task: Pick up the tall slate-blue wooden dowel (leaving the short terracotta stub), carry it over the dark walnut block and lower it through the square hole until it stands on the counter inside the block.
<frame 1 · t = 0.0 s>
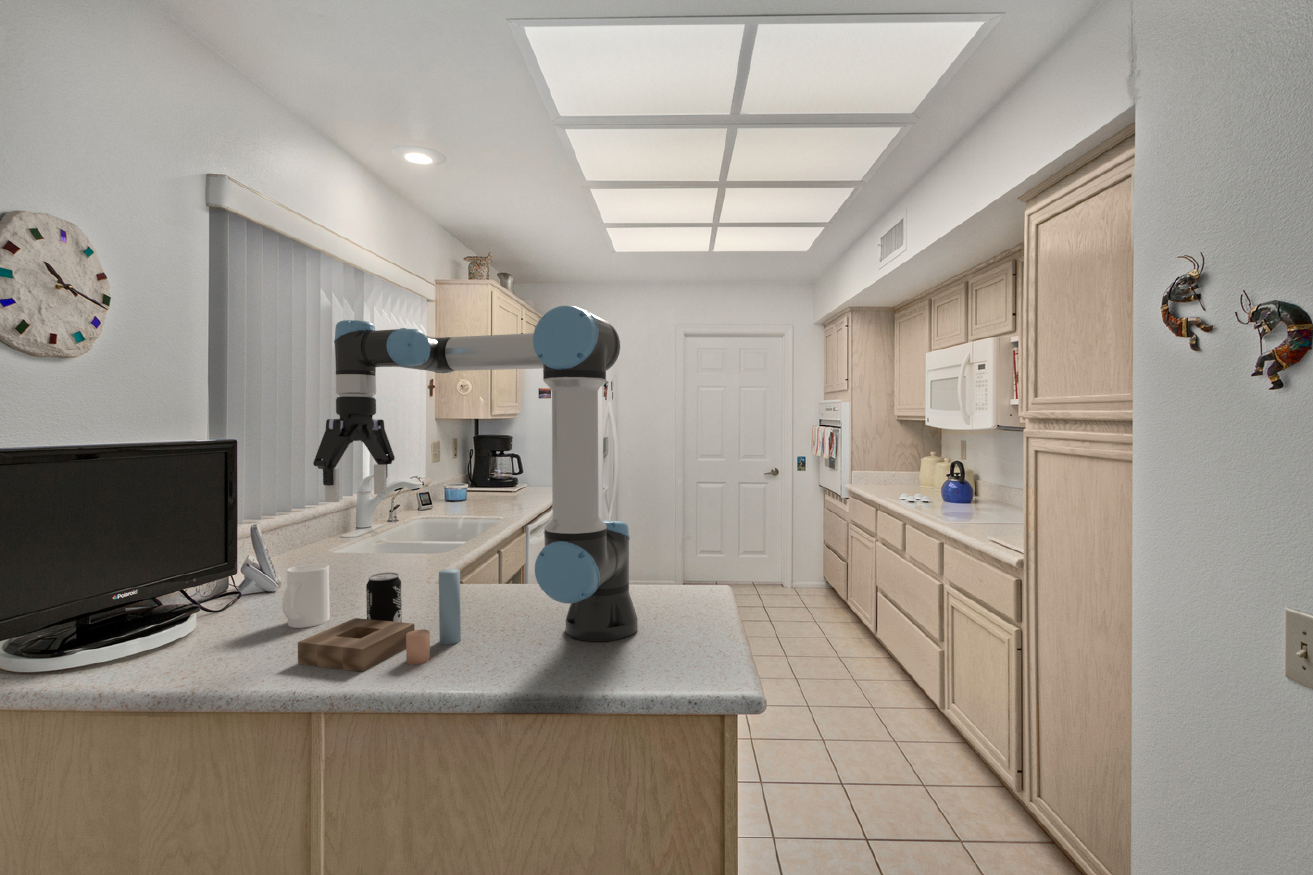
hand: (357, 497, 126), 28 cm above the countertop, fingers open, 13 cm apart
beverage can: (384, 634, 125), on the countertop
short dowel: (418, 660, 111), on the countertop
mug: (302, 625, 131), on the countertop
hole block: (358, 653, 114), on the countertop
long dowel: (450, 641, 120), on the countertop
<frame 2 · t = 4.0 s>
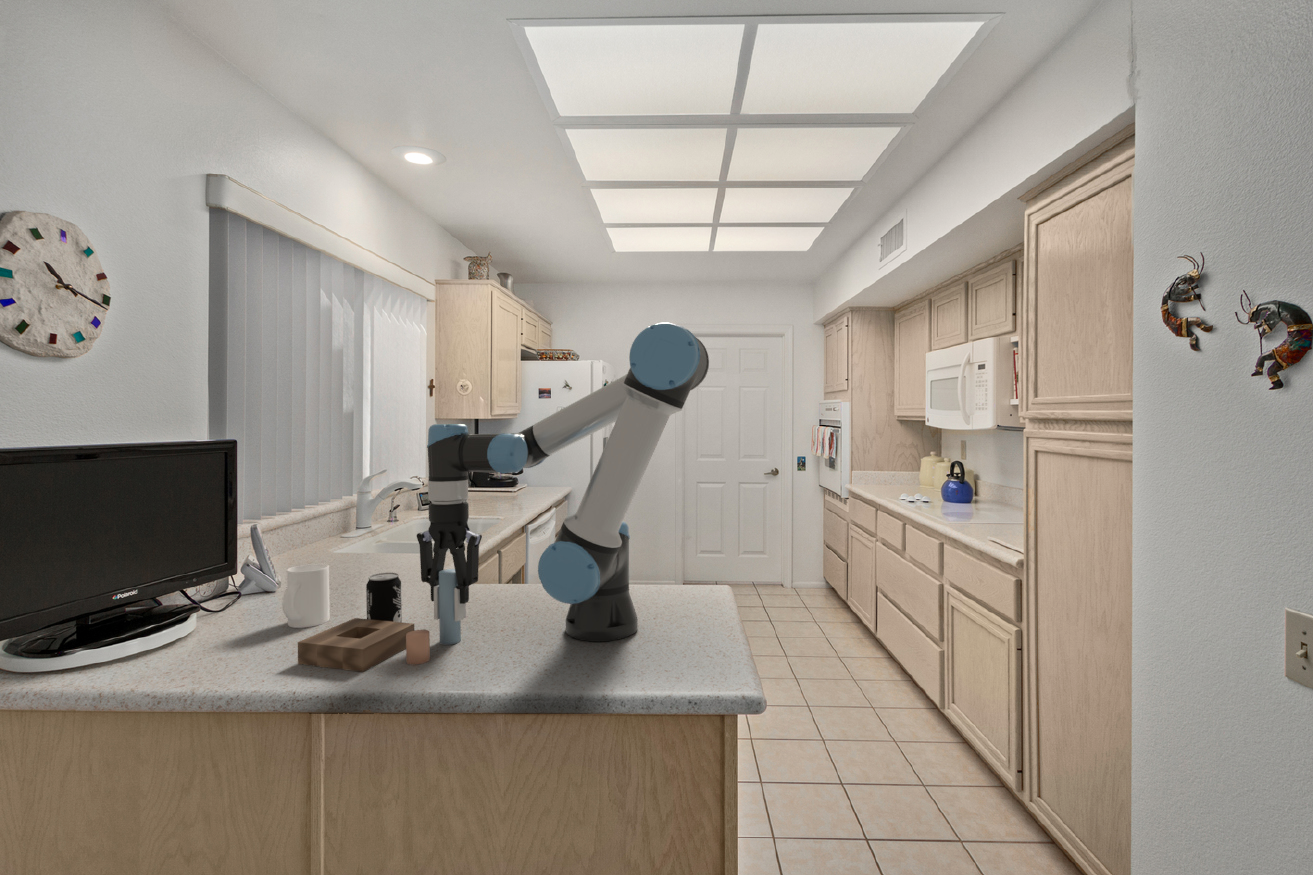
hand: (450, 618, 120), 5 cm above the countertop, fingers closed on long dowel, 4 cm apart
long dowel: (450, 641, 120), on the countertop, touching gripper
everything else where it was.
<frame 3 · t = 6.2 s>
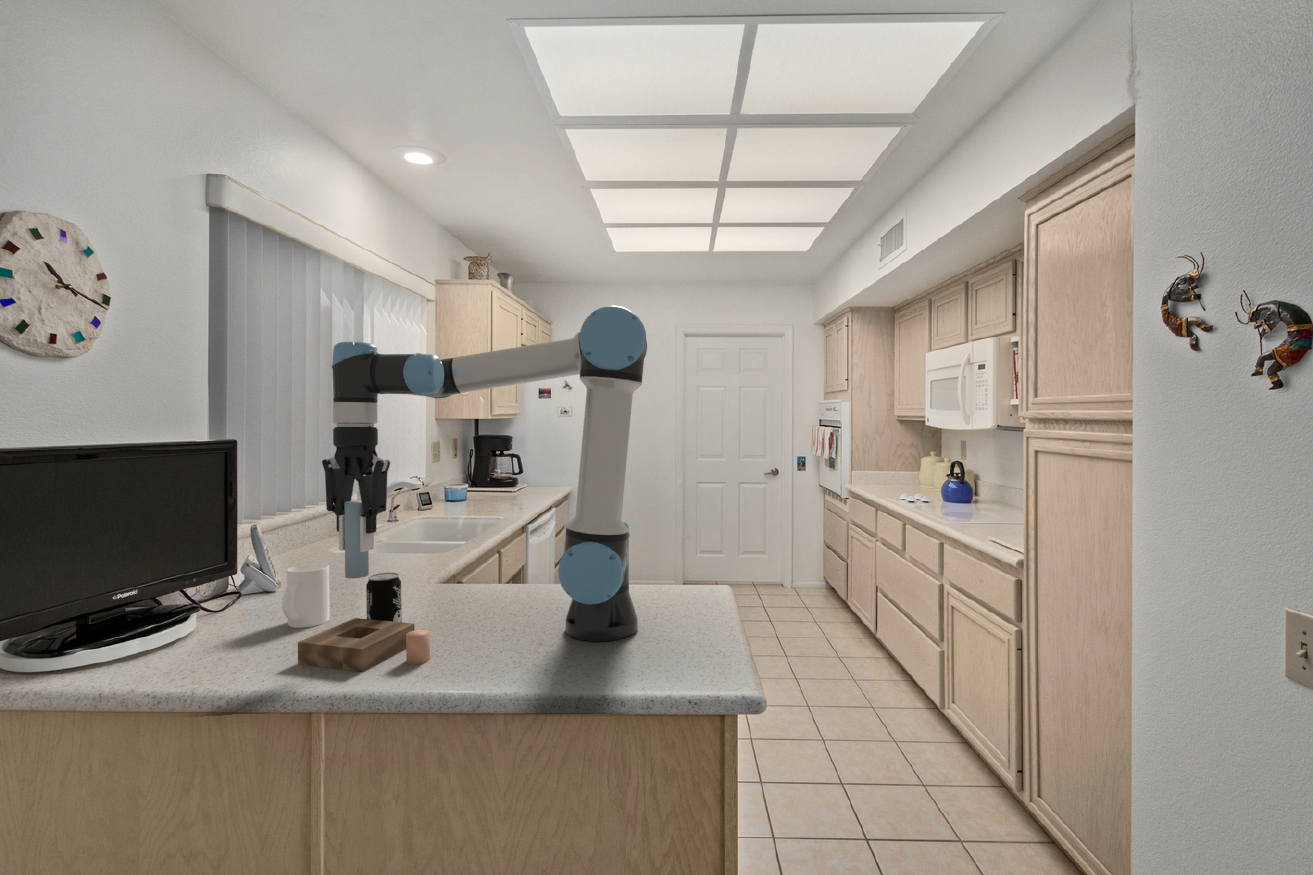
hand: (356, 549, 114), 20 cm above the countertop, fingers closed on long dowel, 4 cm apart
long dowel: (356, 575, 114), point 15 cm above the countertop, touching gripper
everything else where it was.
when the fingers open (6 cm above the countertop, at t = 8.6 s): long dowel drops 1 cm, resting in hole block.
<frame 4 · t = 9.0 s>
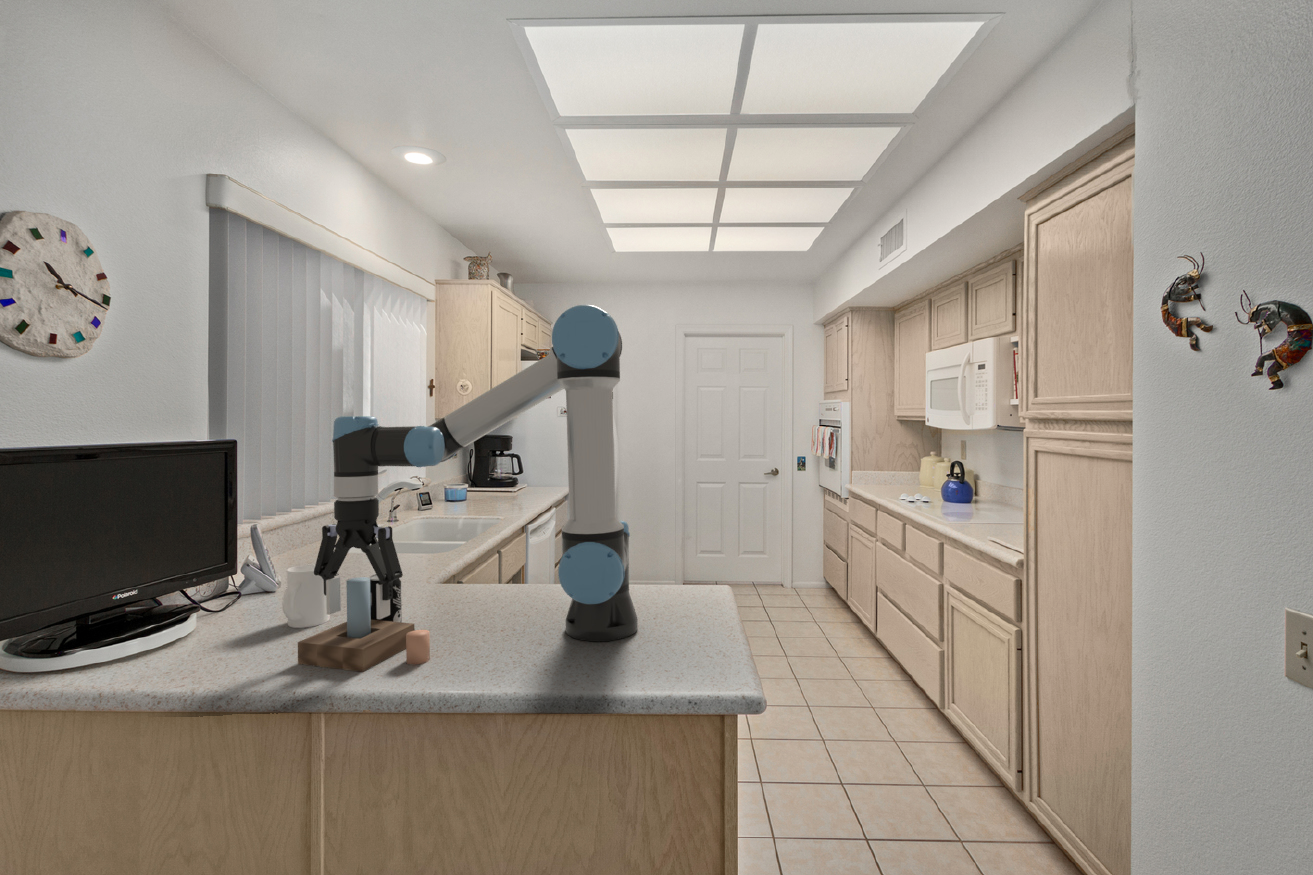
hand: (358, 614, 114), 7 cm above the countertop, fingers open, 10 cm apart
long dowel: (359, 653, 114), resting in hole block
everything else where it was.
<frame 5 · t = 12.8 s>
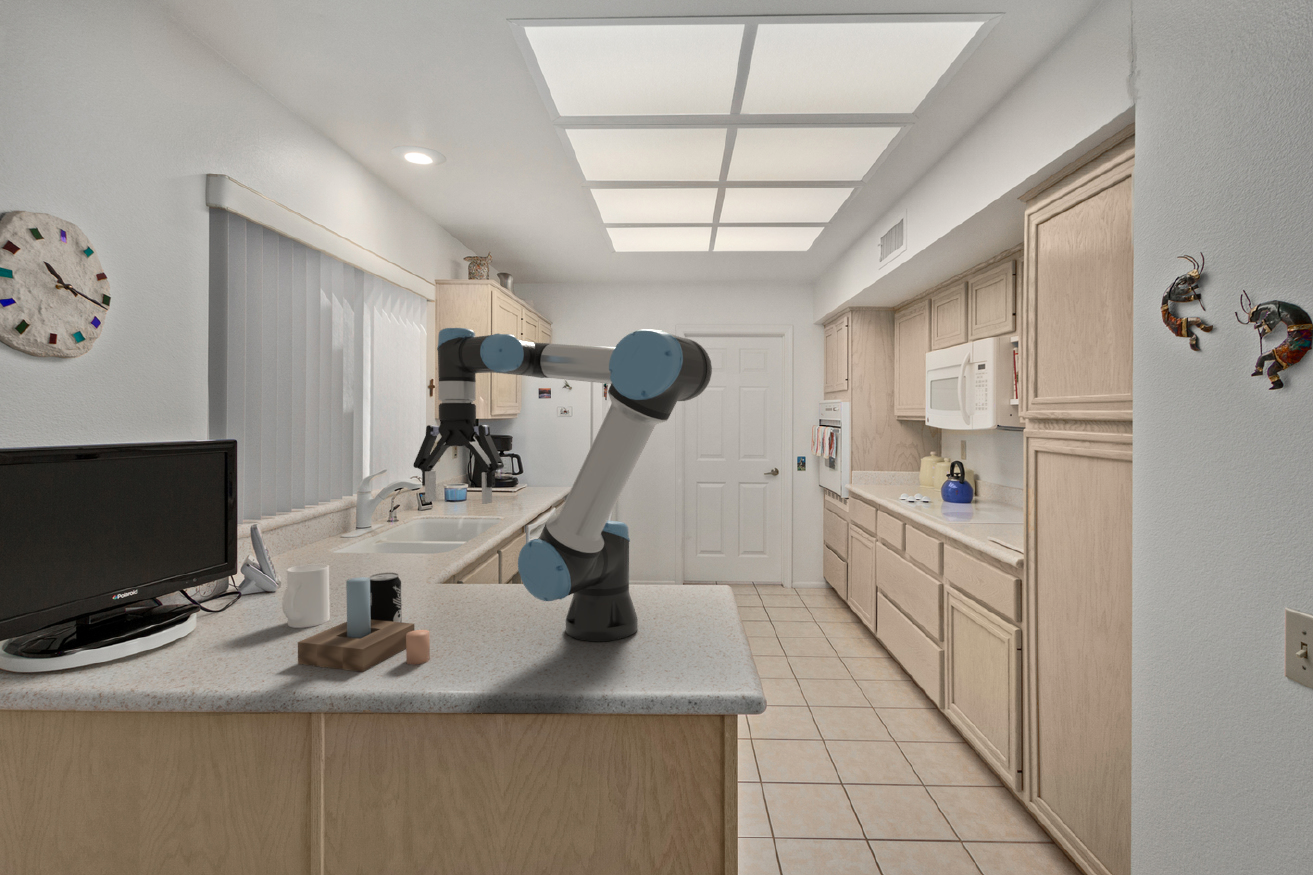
hand: (458, 502, 128), 27 cm above the countertop, fingers open, 13 cm apart
nothing on the countertop moved.
at the end: long dowel 0.1 cm off-centre on the hole block, point 0.0 cm above the hole block's base; long dowel tilted 0°; the gripper is holding nothing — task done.
